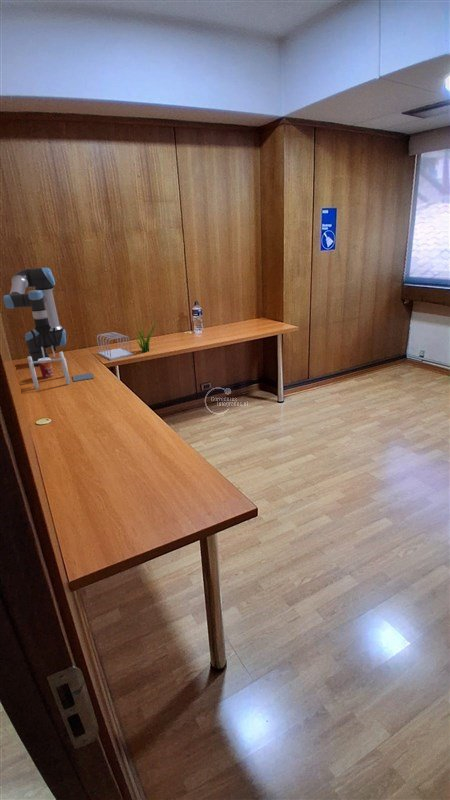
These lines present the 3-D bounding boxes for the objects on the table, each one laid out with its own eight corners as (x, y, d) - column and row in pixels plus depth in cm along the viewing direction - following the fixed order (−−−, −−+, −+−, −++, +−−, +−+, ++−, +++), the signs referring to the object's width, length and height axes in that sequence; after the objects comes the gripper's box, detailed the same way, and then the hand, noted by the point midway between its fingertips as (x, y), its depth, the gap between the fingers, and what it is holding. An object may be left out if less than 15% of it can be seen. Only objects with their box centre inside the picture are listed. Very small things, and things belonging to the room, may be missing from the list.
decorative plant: (155, 320, 285) (135, 315, 282) (148, 355, 302) (129, 350, 299) (158, 310, 300) (139, 305, 297) (151, 344, 316) (132, 339, 313)
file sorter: (98, 355, 303) (94, 334, 297) (119, 350, 312) (116, 330, 307) (110, 361, 284) (107, 339, 278) (133, 356, 293) (130, 335, 288)
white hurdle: (33, 381, 247) (27, 356, 242) (69, 375, 255) (64, 351, 249) (31, 390, 230) (25, 364, 224) (70, 384, 237) (65, 358, 231)
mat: (72, 376, 251) (72, 375, 251) (92, 373, 255) (92, 372, 255) (73, 381, 241) (73, 380, 241) (94, 378, 245) (93, 377, 245)
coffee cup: (50, 383, 251) (45, 360, 245) (39, 383, 253) (34, 360, 248) (59, 379, 258) (53, 357, 253) (48, 379, 261) (43, 357, 255)
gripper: (23, 320, 222) (32, 360, 231) (57, 317, 228) (65, 356, 237) (24, 319, 229) (33, 358, 237) (57, 315, 235) (65, 353, 243)
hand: (49, 357), depth 237 cm, fingers open, 5 cm apart
